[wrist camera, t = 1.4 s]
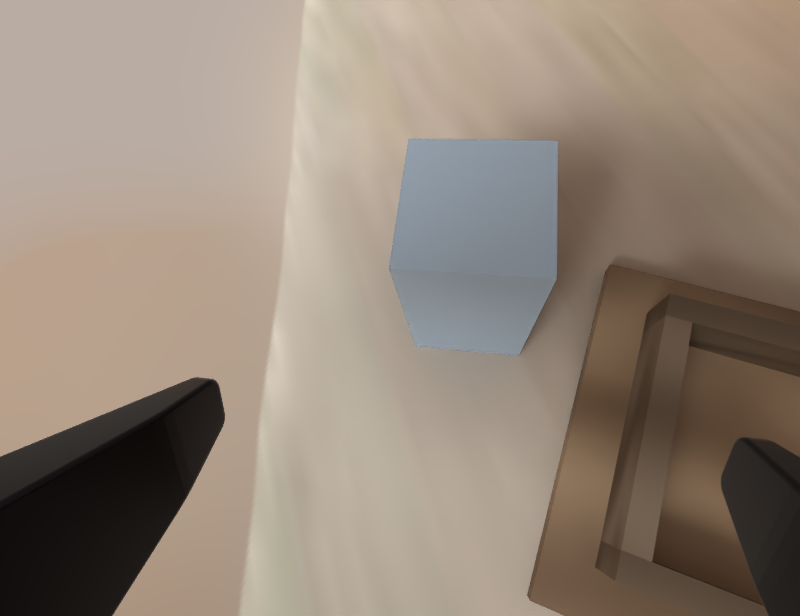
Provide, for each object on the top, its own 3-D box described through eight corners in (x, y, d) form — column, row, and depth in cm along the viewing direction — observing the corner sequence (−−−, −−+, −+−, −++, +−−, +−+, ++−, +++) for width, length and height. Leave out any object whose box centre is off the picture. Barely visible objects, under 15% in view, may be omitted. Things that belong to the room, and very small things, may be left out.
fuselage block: (518, 355, 21) (556, 278, 13) (415, 346, 22) (389, 268, 14) (522, 262, 23) (558, 140, 15) (426, 256, 24) (408, 138, 15)
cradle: (990, 797, 14) (1130, 882, 11) (527, 595, 18) (540, 619, 15) (975, 365, 19) (1072, 344, 16) (605, 271, 22) (628, 239, 19)
